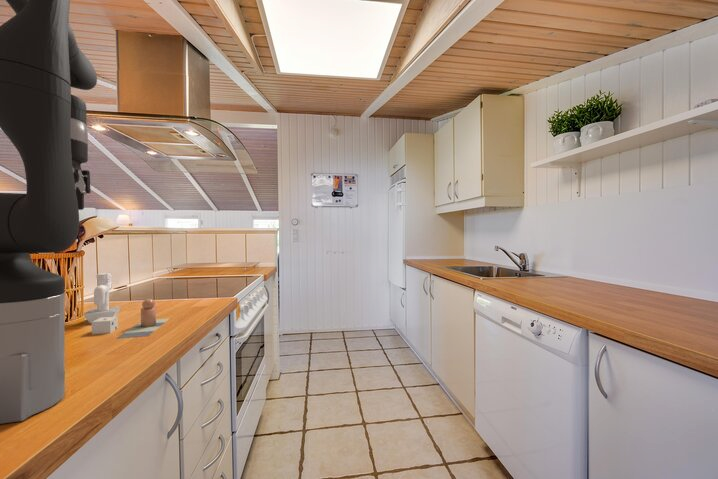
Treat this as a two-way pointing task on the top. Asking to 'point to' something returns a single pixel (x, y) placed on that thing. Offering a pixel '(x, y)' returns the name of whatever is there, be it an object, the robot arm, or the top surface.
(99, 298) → the figurine
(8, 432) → the top surface
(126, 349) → the top surface
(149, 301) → the pawn
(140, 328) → the board
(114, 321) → the die
